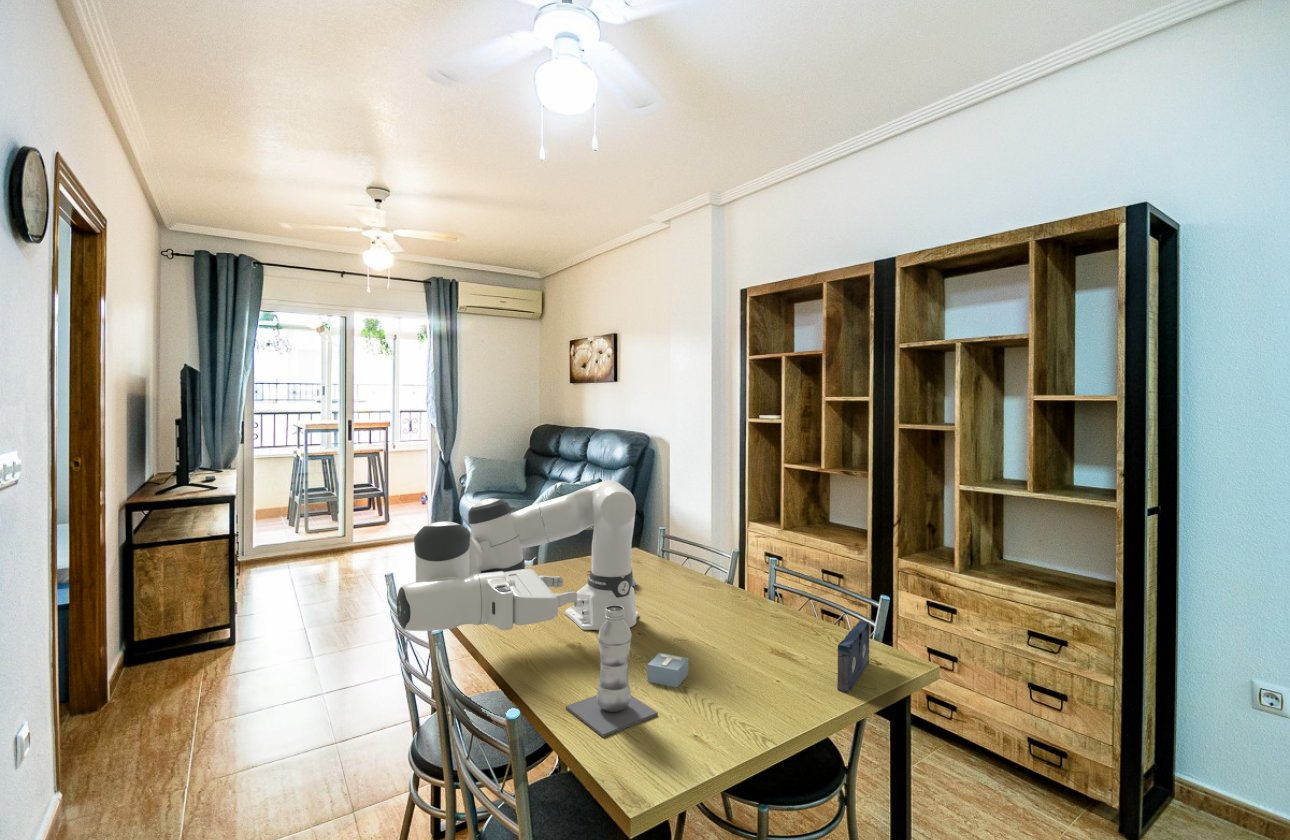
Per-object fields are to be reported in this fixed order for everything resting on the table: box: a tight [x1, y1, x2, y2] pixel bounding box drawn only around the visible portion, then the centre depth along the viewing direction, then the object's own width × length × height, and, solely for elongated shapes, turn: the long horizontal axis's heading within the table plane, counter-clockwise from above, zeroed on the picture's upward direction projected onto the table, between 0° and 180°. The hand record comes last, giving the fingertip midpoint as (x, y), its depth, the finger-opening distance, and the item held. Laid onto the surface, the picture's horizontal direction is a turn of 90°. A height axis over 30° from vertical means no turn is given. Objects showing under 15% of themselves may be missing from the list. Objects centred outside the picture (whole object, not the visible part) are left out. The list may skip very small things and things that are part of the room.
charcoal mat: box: [565, 694, 659, 738], centre depth 118 cm, size 13×13×1 cm
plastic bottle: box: [596, 605, 632, 712], centre depth 118 cm, size 6×7×20 cm
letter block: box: [646, 652, 689, 688], centre depth 134 cm, size 7×7×4 cm
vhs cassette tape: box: [836, 620, 871, 694], centre depth 136 cm, size 18×3×10 cm, turn 145°
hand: (568, 588), depth 114 cm, fingers open, 8 cm apart
